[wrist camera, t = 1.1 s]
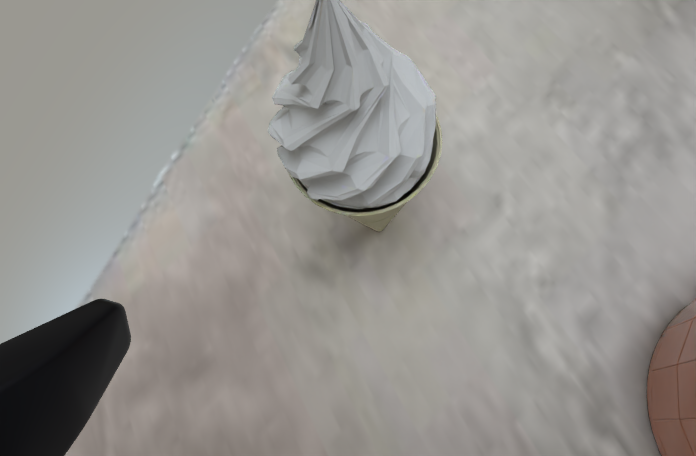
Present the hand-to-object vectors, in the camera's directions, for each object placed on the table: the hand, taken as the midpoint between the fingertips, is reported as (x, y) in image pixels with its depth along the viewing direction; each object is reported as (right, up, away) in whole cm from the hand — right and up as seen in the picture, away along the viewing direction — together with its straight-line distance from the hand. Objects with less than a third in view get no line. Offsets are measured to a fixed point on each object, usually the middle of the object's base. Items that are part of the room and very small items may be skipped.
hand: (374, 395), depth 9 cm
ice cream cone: (+1, +3, +17) cm, 17 cm away
